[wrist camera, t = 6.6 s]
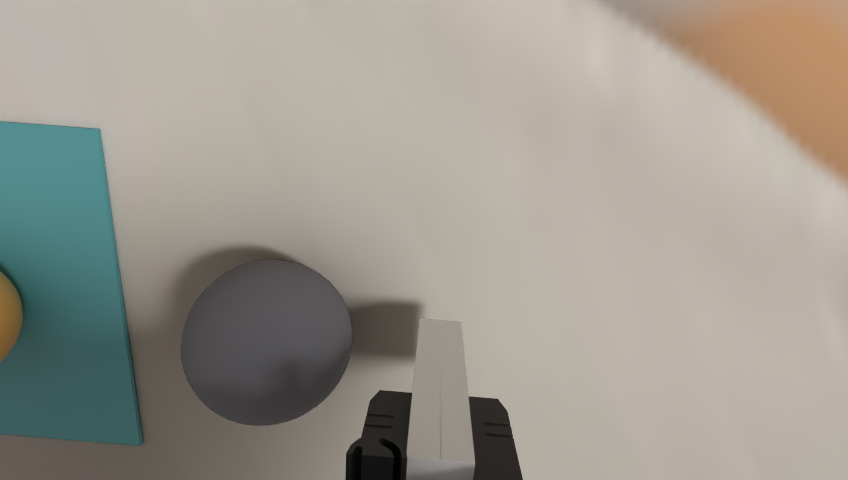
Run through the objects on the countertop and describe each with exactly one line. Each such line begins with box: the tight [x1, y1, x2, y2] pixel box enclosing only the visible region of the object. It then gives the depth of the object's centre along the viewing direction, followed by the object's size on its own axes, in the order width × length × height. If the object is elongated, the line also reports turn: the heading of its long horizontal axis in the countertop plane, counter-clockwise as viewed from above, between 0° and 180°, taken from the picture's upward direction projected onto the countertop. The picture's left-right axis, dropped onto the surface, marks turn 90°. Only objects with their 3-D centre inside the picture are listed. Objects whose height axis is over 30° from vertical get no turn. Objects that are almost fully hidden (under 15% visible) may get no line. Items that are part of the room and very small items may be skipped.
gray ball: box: [181, 260, 352, 426], centre depth 15 cm, size 6×6×6 cm
